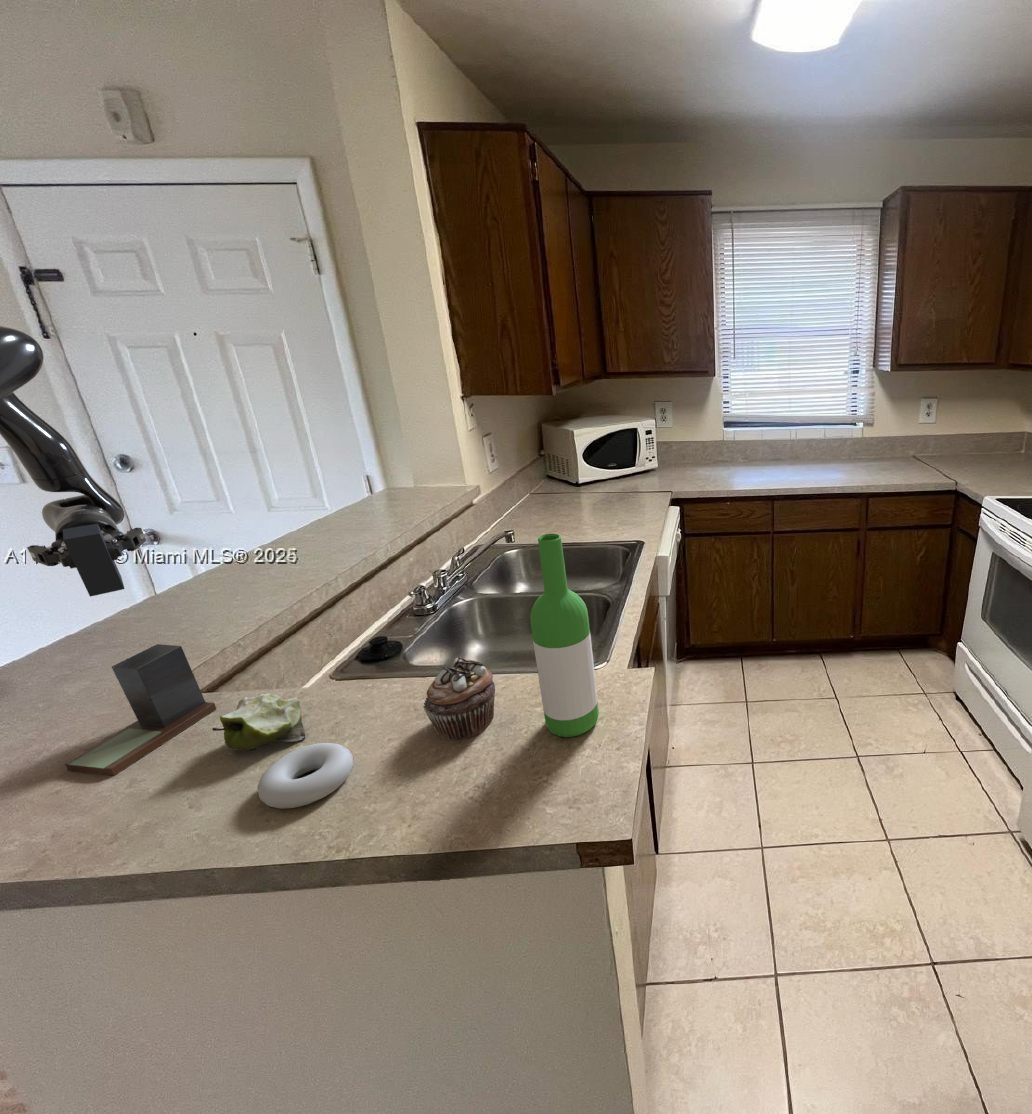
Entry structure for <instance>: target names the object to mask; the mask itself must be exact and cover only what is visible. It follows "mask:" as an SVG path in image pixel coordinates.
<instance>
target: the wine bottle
mask: <svg viewBox="0 0 1032 1114" xmlns="http://www.w3.org/2000/svg"><path fill="white" fill-rule="evenodd" d="M537 542H538V549H539V550H538V551H539V559H540V567H541V574H542V582H543V583H542V584H543V593H542V594H541V595H539V597H537V598H536V600H535V602H534V604H533V605H532V607H531V610H530V619H529V620H530V628H531V635H532V642H533V649H534V656H535V663H536V670H537V676H538V677H537V678H538V684H539V691H540V697H541V703H542V711H543V714H544V722H545V725H546V728H547V730H548V731H549V732H551V734H553V735H555V736H558V737H561V738H572V737H578V736H580V735H584V734H585V733H587V732H588V731H590V730H591V729H592V728H593V727H594V726H595V725H596V723H597V721H598V718H599V713H600V712H599V702H598V701H599V700H598V691H597V681H596V674H595V673H596V672H595V662H594V655H593V646H592V645H593V643H592V636H591V629H590V628H591V627H590V619H589V611H588V608H587V605H586V603H585V602H584V600H583V599H582V598H581V596H579V594H577V593H576V592H574V591H572V590H570V588H569V587H568V580H567V574H566V573H567V572H566V565H565V557H564V550H563V549H564V548H563V543H562V542H563V541H562V536H561V535H559V534H557V533H545V534H542V535H540V536H539V537H538V538H537Z"/></svg>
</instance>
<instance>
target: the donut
mask: <svg viewBox="0 0 1032 1114" xmlns="http://www.w3.org/2000/svg"><path fill="white" fill-rule="evenodd" d="M353 765H354V758H353V755H352V752H351V751H350V749H348V748H347V747H345V746H344V745H342V744H339V743H334V742H317V743H313V744H309V745H305V746H302V747H300V748H297V749H294V750H292V751H290V752H288V753H286V754H285V755H283V756H281V757H279V758H278V759H277V760H276V761H275V762H273V763H271V764H270V766H269V767H268V768H267V769H266V770H265V771H264V772H263V773H262V774H261V776H260V779H259V782H258V784H257V793H258V798H259V799H260V801H261V802H263V803H264V804H266V806H269V807H271V808H276V809H280V810H282V809H283V810H284V809H296V808H300V807H303V806H307V805H310V804H313V803H314V802H317V801H319V800H322V799H324V798H326V797H327V796H329V795H330V794H331V793H333V792H335V791H336V790H337V789H338V788H339V787H340V786H341V785H343V784H344V782H346V780H347V779H348V777H349V776H350V774H351V773H352V770H353ZM311 771H314V772H312V773H311V774H308V775H305V776H303V777H301V776H302V775H304V774H306V773H309V772H311ZM299 777H300V778H299Z"/></svg>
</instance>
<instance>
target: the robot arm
mask: <svg viewBox="0 0 1032 1114" xmlns="http://www.w3.org/2000/svg"><path fill="white" fill-rule="evenodd" d="M44 357H45V356H44V351H43V349H42V346H41V345H40V344H39V342H38V341H37V340H36V339H34V338H33V337H32V336H31V335H29V334H28V333H26V332H23V331H21V330H18V329H15V328H12V327H7V326H3V325H0V436H1V437H2V439H3V440H4V441H5V443H7V445H8V447H9V448H10V449H11V450H12V451H13V453H14V454H15V456H16V457H17V458H18V460H19V461H20V463H21V465H22V467H23V468H24V469H25V471H26V472H27V474H28V475H29V477H30V478H31V480H32V482H33V483H34V485H36V487H37V488H38V489H40V490H41V491H44V492H47V493H48V492H49V493H79V494H81V495H77V496H70V497H66V498H61V499H56V500H53V501H50V502H48V503H46V504H45V505H44V506H42V509H41V516H42V519H43V522H45V524H46V525H47V527H49V529H51V531H53V532H54V533H55V535H54V536H55V541H53V542H52V543H51V544H50V546H46V545H44V544H43V545H39V544H32V545H29V546H27V547H26V549H27V550H28V552H29V555H30V556H31V558H32V561H33V562H35V563H38V564H41V565H44V566H47V567H55V566H58V565H59V563H61V565H62V568H67V567H69V568H70V569H71V570H73V569H77V568H76V566H75V564H74V562H73V560H72V558H71V556H70V553H69V551H68V549H67V547H66V545H65V543H64V541H63V529H67V528H73V527H80V526H86V525H92V524H98V525H99V527H100V530H101V532H102V534H103V537H104V539H105V542H106V546H107V550H108V552H109V554H110V556H111V559H112V561H113V560H114V561H118V560H119V557H123V556H124V555H123V553H124V552H123V551H127V552H134V551H137V550H138V549H139V548H140V547H142V545H143V544H145V543H146V542H147V539H146V536H145V533H144V531H143V529H142V527H134V528H132V529H130V530H127V531H126V532H125V533H124V532H122V531H120V529H119V528H118V525H119V524H121V523H122V522H123V521H124V519H125V515H126V513H125V509H124V507H123V506H122V504H121V503H120V501H118V500H117V499H116V498H115V497H114V496H113V495H112V494H110V493H109V492H108V491H107V490H106V489H105V488H103V487H102V486H101V485H100V484H99V483H98V482H97V481H96V480H95V479H94V478H93V476H91V474H90V473H89V472H88V470H87V469H86V467H85V466H84V463H83V462H82V460H81V459H80V457H79V456H78V454H77V452H76V450H75V449H74V447H73V446H72V445H71V444H70V442H69V440H67V438H65V437H64V435H62V434H61V433H60V432H59V431H58V430H57V429H55V428H54V427H53V426H52V425H51V424H49V423H48V422H47V421H46V420H45V419H43V418H42V417H41V416H39V414H37V413H36V412H34V411H33V410H32V409H31V408H29V407H28V405H26V404H25V403H24V402H23V401H22V400H21V399H20V398H19V397H18V396H17V395H16V393H15V392H16V391H18V390H19V389H20V388H22V387H24V386H25V385H27V384H28V383H30V382H31V381H32V380H34V379H35V378H36V377H37V375H38V374H39V373H40V371H41V370H42V368H43V366H44V360H45V359H44Z"/></svg>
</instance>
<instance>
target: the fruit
mask: <svg viewBox="0 0 1032 1114" xmlns="http://www.w3.org/2000/svg"><path fill="white" fill-rule="evenodd" d="M219 721H220V722H221V724H222V728H217V727H212V730H211V731H214V732H216V731H217V732H219V731H220V732H221V731H223V739H224V740H223V741H224V744H225V746H226V747H227V748H228V749H231V750H234V751H235V750H236V751H243V752H244V751H245V752H246V751H256V750H257V747H258V746H261V745H266V744H272V743H276V742H300V741H303V740H305V739H306V733H305V729H304V725H303V720H302V707H301V703H300V700H299V699H298V698H296V697H293V698H292V697H291V698H288V699H283V698H281V697H280V696H279V694H274V693H271V692H268V693H260V694H258V695H257V696H252V697H243V698H241V699H239V700H238V704H237V706H236V709H235V710H234V711H231V712H228V713H226V714H223V715H221V716H219Z"/></svg>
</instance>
